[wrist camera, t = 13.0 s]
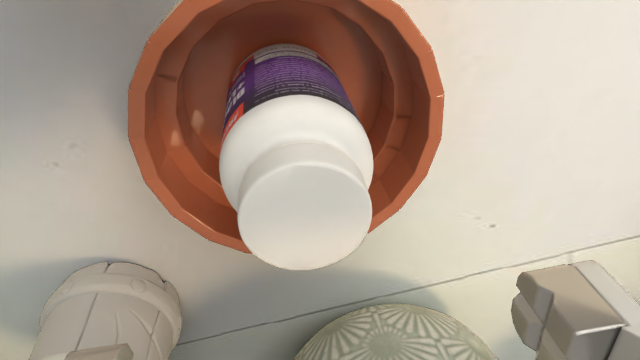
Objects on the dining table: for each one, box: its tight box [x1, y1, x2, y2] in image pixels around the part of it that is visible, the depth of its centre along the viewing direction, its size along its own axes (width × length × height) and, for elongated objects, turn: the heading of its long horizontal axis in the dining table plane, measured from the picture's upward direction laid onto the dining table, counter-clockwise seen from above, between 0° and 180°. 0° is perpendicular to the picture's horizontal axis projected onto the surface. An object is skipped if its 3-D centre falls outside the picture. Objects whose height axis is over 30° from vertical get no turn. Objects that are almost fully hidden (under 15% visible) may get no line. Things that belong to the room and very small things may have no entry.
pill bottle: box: [219, 44, 373, 270], centre depth 17 cm, size 5×5×10 cm
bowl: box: [128, 0, 444, 254], centre depth 19 cm, size 12×12×5 cm
